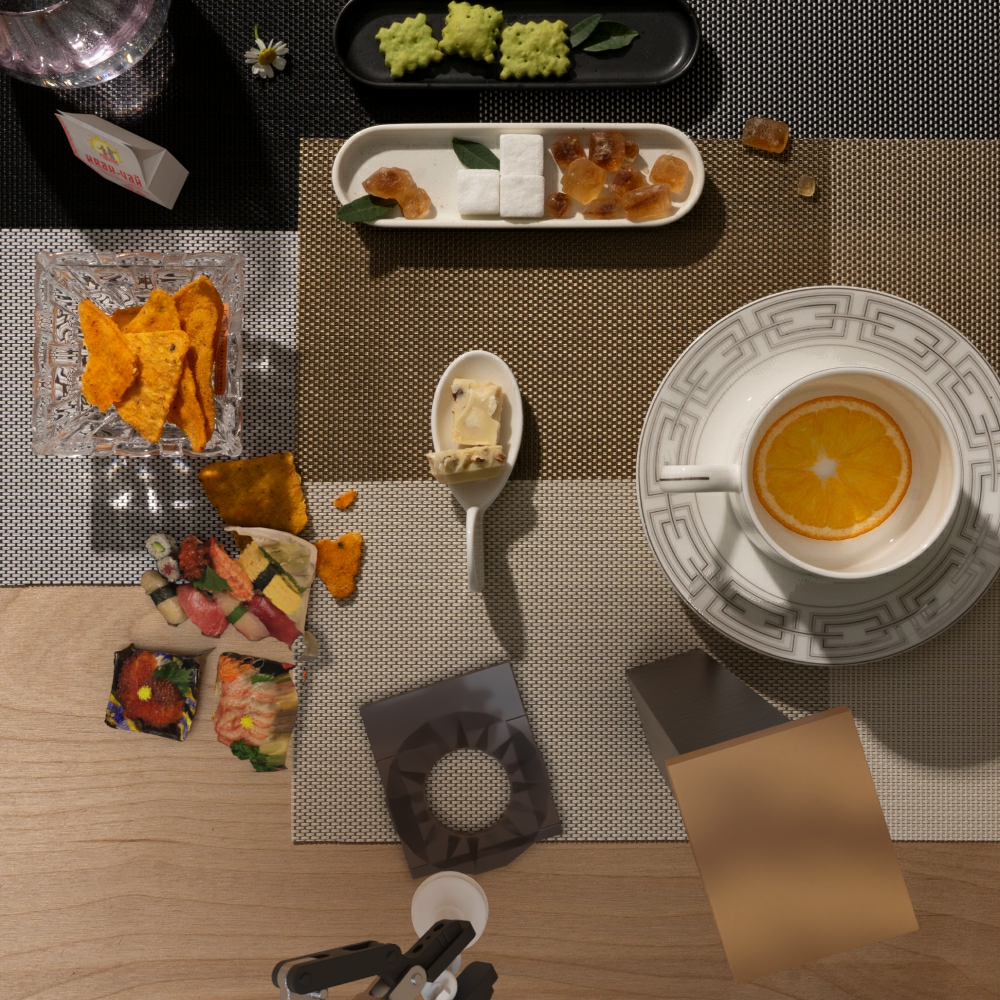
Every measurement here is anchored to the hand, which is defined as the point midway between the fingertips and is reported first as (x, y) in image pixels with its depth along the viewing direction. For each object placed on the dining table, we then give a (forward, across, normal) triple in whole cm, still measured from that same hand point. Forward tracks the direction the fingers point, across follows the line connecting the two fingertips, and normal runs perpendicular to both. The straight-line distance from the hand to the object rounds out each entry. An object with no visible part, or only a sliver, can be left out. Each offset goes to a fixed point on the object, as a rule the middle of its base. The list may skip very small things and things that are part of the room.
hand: (474, 947), depth 44 cm
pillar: (+32, -1, +6) cm, 33 cm away
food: (+8, +22, +30) cm, 38 cm away
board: (+18, +2, +20) cm, 27 cm away
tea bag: (+18, +62, +20) cm, 68 cm away
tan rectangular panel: (+11, -1, -14) cm, 18 cm away
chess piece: (+3, 0, +6) cm, 6 cm away
